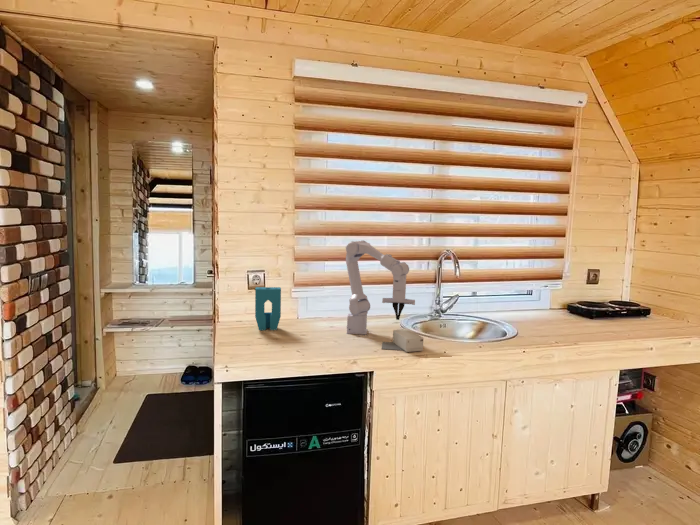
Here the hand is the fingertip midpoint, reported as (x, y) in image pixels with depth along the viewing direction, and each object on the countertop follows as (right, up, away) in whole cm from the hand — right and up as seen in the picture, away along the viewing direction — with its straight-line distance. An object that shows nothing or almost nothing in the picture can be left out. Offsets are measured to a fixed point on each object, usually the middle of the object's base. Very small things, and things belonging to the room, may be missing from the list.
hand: (397, 319), depth 208 cm
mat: (-1, -11, -7) cm, 13 cm away
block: (-62, -7, +15) cm, 64 cm away
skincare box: (+1, -7, 0) cm, 7 cm away
